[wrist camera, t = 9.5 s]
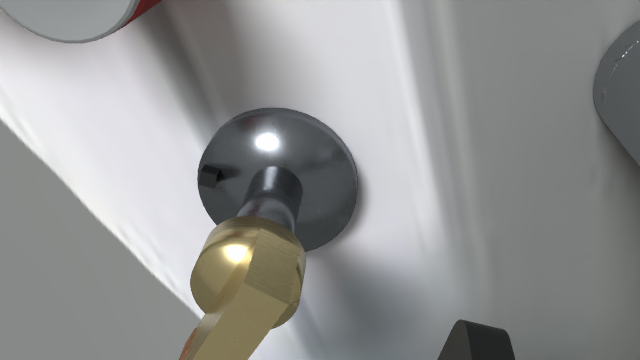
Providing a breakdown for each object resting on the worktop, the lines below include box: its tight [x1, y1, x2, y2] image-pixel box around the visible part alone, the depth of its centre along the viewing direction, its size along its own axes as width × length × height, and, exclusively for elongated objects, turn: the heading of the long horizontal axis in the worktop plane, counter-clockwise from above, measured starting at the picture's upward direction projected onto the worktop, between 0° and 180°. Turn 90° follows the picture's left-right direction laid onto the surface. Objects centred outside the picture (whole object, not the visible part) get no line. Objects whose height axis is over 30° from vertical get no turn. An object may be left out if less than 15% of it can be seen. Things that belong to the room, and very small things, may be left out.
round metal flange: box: [197, 108, 357, 252], centre depth 40 cm, size 12×12×10 cm
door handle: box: [179, 216, 306, 360], centre depth 32 cm, size 10×6×8 cm, turn 150°
